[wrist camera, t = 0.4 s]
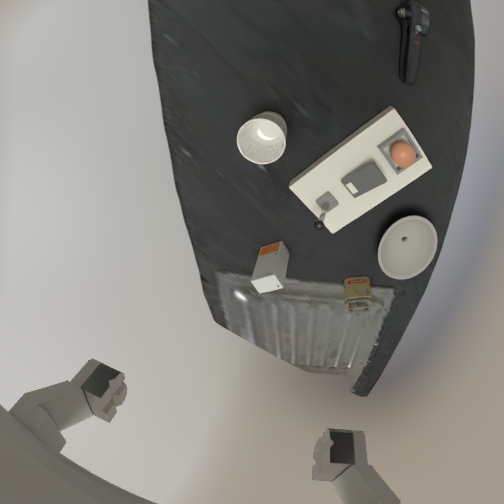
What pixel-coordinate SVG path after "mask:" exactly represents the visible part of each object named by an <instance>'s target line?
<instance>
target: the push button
mask: <svg viewBox="0 0 504 504" xmlns="http://www.w3.org/2000/svg"><path fill="white" fill-rule="evenodd" d="M390 155H391V158H392V159H393V161H394V162H395V163H396V165H397V166H399V167H401V168H408V167H410V166H411V165H413V163H414V162H415V159H416V154H415V151H414V149H413V148H412V147H411V146H410V145H409V144H408V143H407V142H405V141H397V142H395V143H394V144H393V145H392V146H391V148H390Z"/></svg>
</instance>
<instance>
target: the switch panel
mask: <svg viewBox="0 0 504 504" xmlns="http://www.w3.org/2000/svg"><path fill="white" fill-rule="evenodd" d="M397 141H405V142H407V143H408V144H409V145H410V146H411V147H412V148H413V149H414V151H415V154H416V159H415V162H414V163H413V165H411V166H410V167H408V168H401V167H399V166H397V165H396V163H395V162H394V161H393V159H392V158H391V155H390V148H391V146H392V145H393V144H394V143H395V142H397ZM373 161H374V162H375V163H376V165H377V166H378V167H379V169H380V170H381V172H382V173H383V174H384V176H385V177H386V179H387V182H386V183H384V184H382V185H380V186H378V187H376V188H374V189H372V190H370V191H368V192H366V193H364V194H362V195H360V196H358V197H356V198H354V197H353V196H352V195H351V193H350V192H349V191H348V190H347V189H346V187H345V186H344V185H343V184H342V183H341V179H343V178H344V177H346V176H348V175H350V174H351V173H353V172H355V171H357V170H359V169H360V168H362V167H364V166H366V165H368V164H369V163H371V162H373ZM431 168H432V166H431V164H430V163H429V161H428V159H427V157H426V156H425V154H424V152H423V151H422V149H421V147H420V146H419V144H418V143H417V141H416V139H415V138H414V136H413V135H412V133H411V132H410V130H409V129H408V127H407V126H406V124H405V123H404V121H403V120H402V118H401V117H400V116H399V114H398V113H397V111H396V110H395V109H394V108H393V107H391V106H389V107H388V108H386V109H385V110H384V111H382V112H381V113H379V114H378V115H377V116H375V117H374V118H373V119H371V120H370V121H369V122H367V123H366V124H364V125H363V126H362V127H360V128H359V129H358V130H356V131H355V132H354V133H352V134H351V135H350V136H348V137H347V138H346V139H344V140H343V141H342V142H340V143H339V144H338V145H336V146H335V147H334V148H333V149H331V150H330V151H329V152H327V153H326V154H325V155H323V156H322V157H321V158H319V159H318V160H317V161H316V162H314V163H313V164H312V165H310V166H309V167H308V168H307V169H305V170H304V171H303V172H301V173H300V174H299V175H298V176H296V177H295V178H294V179H292V180H291V181H290V185H289V188H290V189H291V190H292V191H293V192H294V193H295V194H296V195H297V196H298V197H299V198H300V199H301V201H302V202H303V203H304V204H305V205H306V206H307V207H308V208H309V209H310V210H311V211H312V212H313V213H314V214H315V215H316V216H317V217H318V218H319V217H320V214H321V212H322V209H323V207H324V204H326V203H327V204H328V205H329V208H328V211H327V213H326V216H325V219H324V225H325V226H326V227H327V228H328V229H329V230H330V232H331V233H332V234H333V233H334V232H336V231H337V230H339V229H341V228H342V227H344V226H345V225H347V224H348V223H350V222H351V221H353V220H355V219H356V218H358V217H359V216H361V215H362V214H364V213H365V212H367V211H368V210H370V209H371V208H373V207H374V206H376V205H377V204H379V203H380V202H382V201H383V200H385V199H386V198H388V197H390V196H391V195H393V194H394V193H395V192H397V191H398V190H400V189H401V188H403V187H404V186H406V185H407V184H409V183H410V182H412V181H413V180H415V179H416V178H418V177H419V176H421V175H422V174H424V173H425V172H426V171H428V170H429V169H431Z"/></svg>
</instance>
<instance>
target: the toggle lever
mask: <svg viewBox="0 0 504 504" xmlns="http://www.w3.org/2000/svg"><path fill="white" fill-rule="evenodd" d="M328 208H329V205H328V204H327V203H326V204H324V207H323V209H322V212H321V214H320V217H319V219H318V220H317V221H316V222H315V224H314V225H315V228H316V229H318V230H321V229H323V227H324V219H325V216H326V213H327V211H328Z"/></svg>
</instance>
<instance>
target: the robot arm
mask: <svg viewBox="0 0 504 504" xmlns="http://www.w3.org/2000/svg"><path fill="white" fill-rule="evenodd" d="M124 379H125V376H124V373H122V372H120V371H117V370H115V369H113V368H111V367H109V366H107V365H105V364H103V363H101V362H99V361H97V360H95V359H91V360H89V361H88V362H87V363H86V364H85V365H84V367H83V368H82V369H81V370H80V371H79V372H78V373H77V375H76V376H75V377H74V378H73V379H72V380H71V381H70V382H69V381H65V382H62V383H58V384H55V385H52V386H49V387H46V388H42V389H38V390H35V391H31V392H28V393H25V394H24V395H23V396H22V397H21V398H20V399H19V400H18V402H17V403H16V404H15V405H14V406H13V407H12V408H11V410H9V412H8V411H6V410H5V409H4V408H3V407H2V406H1V405H0V504H157V503H154V502H151V501H149V500H146V499H144V498H141V497H139V496H137V495H135V494H132V493H130V492H128V491H126V490H124V489H121V488H120V487H117V486H115V485H113V484H111V483H109V482H108V481H106V480H104V479H102V478H100V477H98V476H96V475H95V474H93V473H91V472H89V471H87V470H86V469H84V468H83V467H81V466H79V465H78V464H76V463H74V462H73V461H71V460H70V459H68V458H67V457H65V456H63V455H62V454H61V453H60V451H61V450H62V448H63V447H64V445H65V444H66V441H65V439H64V437H63V436H62V434H61V433H60V431H62V430H64V429H66V428H68V427H70V426H72V425H74V424H76V423H78V422H81V421H83V420H85V419H87V418H89V417H91V416H93V415H95V416H97V417H99V418H101V419H103V420H105V421H107V422H109V423H110V421H111V420H112V418H113V417H114V415H115V414H116V412H117V411H116V407H117V406H119V405H121V404H122V403H123V401H124V400H125V397H126V394H127V386H126V384H125V383H124V382H123V381H124ZM313 458H314V459H315V461H316V464H315V465H314V466H313V470H312V480H319V481H330V482H332V485H333V486H334V488H335V490H336V492H337V494H338V495H339V497H340V499H341V500H342V502H343V504H400V500H399V499H398V497H397V496H396V495H395V494H394V492H393V491H392V490H391V489H390V488H389V487H388V485H387V484H386V483H385V482H384V480H383V479H382V478H381V477H380V475H379V474H378V473H377V472H376V471H375V469H374V468H373V467H372V466H371V465H368V462H367V453H366V441H365V434H364V432H363V431H352V430H342V429H330V428H329V429H326V430H325V431H324V433H323V437H320V438H319V439H318V441H317V442H316V445H315V448H314V453H313Z"/></svg>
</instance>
